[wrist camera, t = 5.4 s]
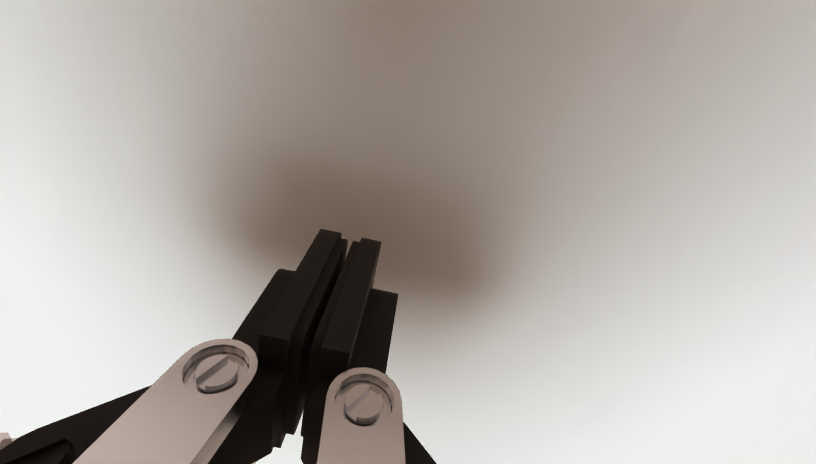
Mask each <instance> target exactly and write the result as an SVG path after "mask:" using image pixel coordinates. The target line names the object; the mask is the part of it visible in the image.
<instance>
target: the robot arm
mask: <svg viewBox="0 0 816 464" xmlns="http://www.w3.org/2000/svg"><path fill="white" fill-rule="evenodd" d="M347 242H348V241H347V240H346V239H341V233H338V232H334V231H329V230H325V229H321V230H320V231H319V233H318V234H317V236H316V238H315V239H314V241H313V243H312V244H311V246H310V248H309V249H308V251H307V253H306V255H305V256H304V258H303V260H302V261H301V263H300V265H299V266H298V268H297V270H296V271H290V270H286V269H279V270H278V271H277V272H276V273H275V275H274V276H273V278H272V279H271V281H270V282H269V284H268V285H267V287H266V288H265V290H264V291H263V293H262V294H261V296H260V297H259V299H258V300H257V302H256V303H255V305H254V306H253V308H252V309H251V311H250V312H249V314H248V315H247V317H246V318H245V320H244V321H243V323H242V324H241V326H240V327H239V329H238V330H237V332H236V333H235V335H234V336H233V338H232V339H215V340H211V341H207V342H204V343H202V344H199V345H197V346H195V347H193V348H191V349H190V350H189V351H188V352H186V353H185V354H184V355H182V356H181V357H180V358H179V359H178V360H177V361H176V362H175V363H174V364H173V365H172V366H171V367H170V368H169V369H168V370H167V371H166V372H165V373H164V374H163V375H162V376H161V377H160V378H159V379H158V380H157V381H156V382H155V383H154V384H153V385H151V386H149V387H146V388H143V389H141V390H138V391H135V392H133V393H130V394H127V395H125V396H122V397H120V398H117V399H114V400H112V401H109V402H106V403H104V404H101V405H99V406H96V407H93V408H91V409H88V410H85V411H83V412H80V413H77V414H75V415H72V416H70V417H67V418H64V419H62V420H59V421H56V422H54V423H51V424H49V425H46V426H43V427H41V428H38V429H36V430H34V431H32V432H30V433H27V434H25V435H23V436H21V437H19V438H10V436H9V434H8V433H0V464H255V463H256V461H258V460H259V459H261V458H263V457H265V456H266V455H268V454H270V453H271V452H272V449H273V447H278V448H281V445H282V443H283V440H284V437H285V435H286V433H287V434H292V435H294V433H295V431H296V429H297V426H298V423H299V420H300V418H301V415H302V412H303V419H302V428H301V436H302V437H303V445H302V454H301V460H302V462H303V464H436V462H435V461H434V460H433V459H432V457H431V456H430V455H429V453H428V452H427V451H426V450H425V448H424V447H423V446H422V445H421V443H420V442H419V441H418V440H417V438H416V437H415V436H414V434H413V433H412V432H411V431H410V429H409V428H408V427H407V426H406V424H405V423H404V422H403V413H402V400H401V396H400V391H399V389H398V388H397V386H396V384H395V383H394V381H393V380H391V379H390V378H389V377H388V376H387V375H386V374H385V373H386V367H387V361H388V354H389V348H390V342H391V336H392V330H393V323H394V317H395V311H396V305H397V298H398V294H396V293H391V292H387V291H382V290H377V289H373V288H372V286H373V281H374V276H375V271H376V266H377V261H378V256H379V252H380V247H381V242H379V241H374V240H370V239H365V238H362V239H361V241H360V243H359V242H355V241H353V243H352V245H351V248H350V250H349V252H348V255H347V257H346V260H345V256H346V250H347ZM303 409H304V410H303Z"/></svg>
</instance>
